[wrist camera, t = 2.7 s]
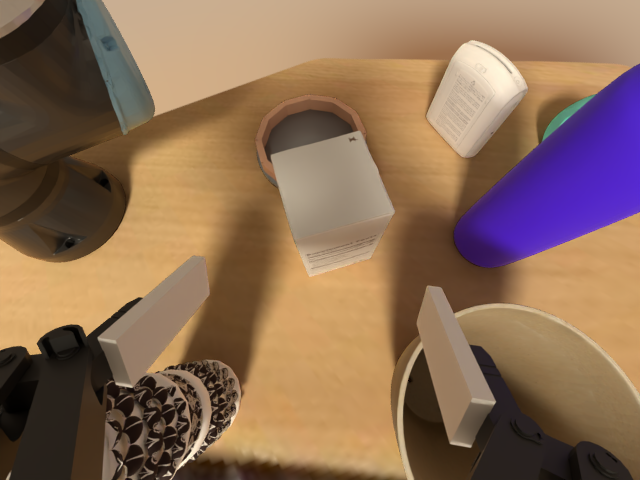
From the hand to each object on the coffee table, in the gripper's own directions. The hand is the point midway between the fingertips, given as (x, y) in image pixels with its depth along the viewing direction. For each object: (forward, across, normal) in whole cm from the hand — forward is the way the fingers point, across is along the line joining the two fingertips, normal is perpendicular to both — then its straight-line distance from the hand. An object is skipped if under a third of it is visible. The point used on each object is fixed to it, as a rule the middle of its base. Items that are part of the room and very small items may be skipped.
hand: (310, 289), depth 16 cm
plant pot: (+9, +13, -18) cm, 24 cm away
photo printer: (+34, +16, +8) cm, 39 cm away
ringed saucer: (+31, -5, +4) cm, 31 cm away
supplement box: (+21, 0, -6) cm, 22 cm away
